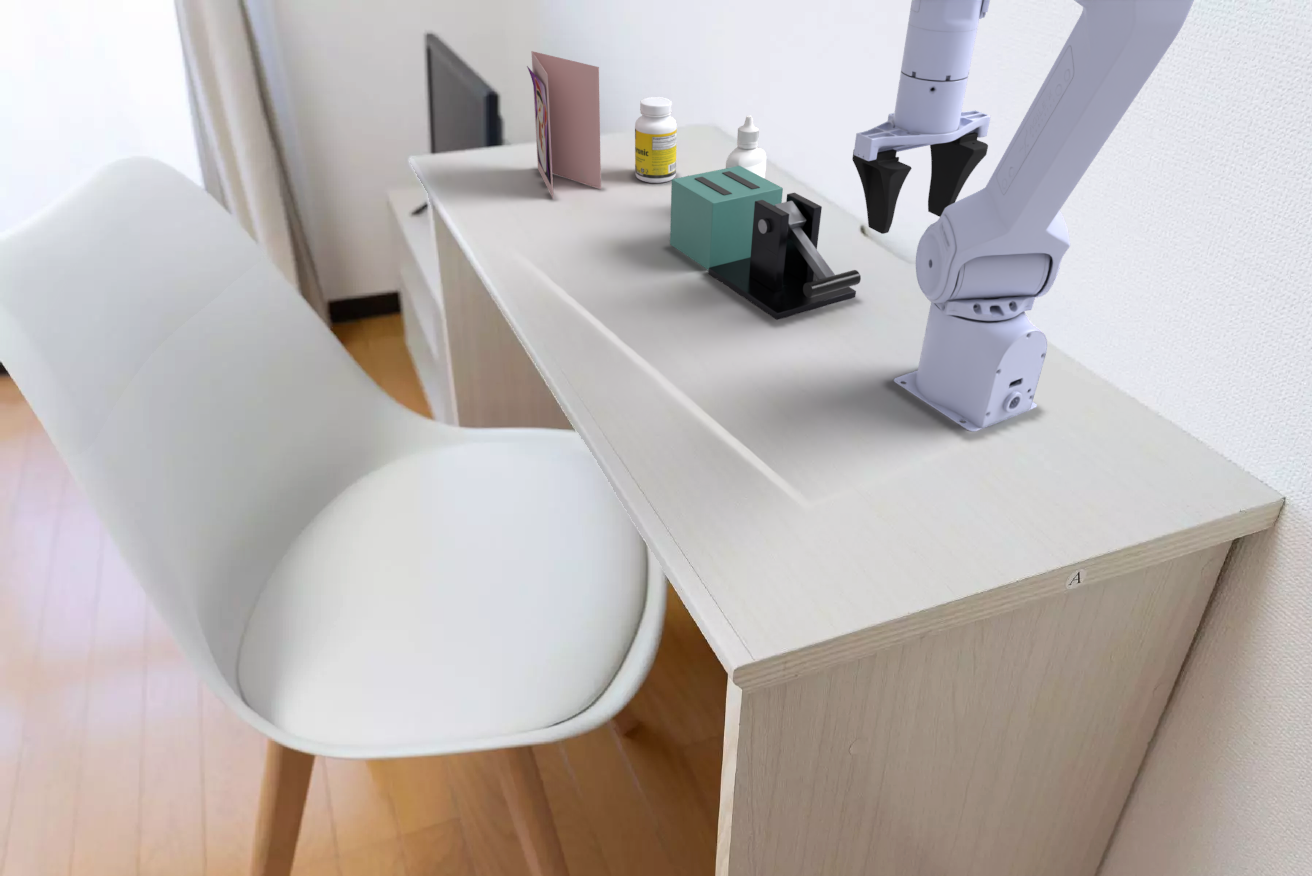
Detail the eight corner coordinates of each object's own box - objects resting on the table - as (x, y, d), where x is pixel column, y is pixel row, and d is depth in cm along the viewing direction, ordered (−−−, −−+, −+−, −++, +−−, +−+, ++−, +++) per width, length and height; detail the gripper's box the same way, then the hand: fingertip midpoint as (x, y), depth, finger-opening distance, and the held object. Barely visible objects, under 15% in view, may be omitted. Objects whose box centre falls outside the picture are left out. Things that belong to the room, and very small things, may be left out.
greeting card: (531, 169, 129) (524, 51, 120) (585, 164, 131) (582, 48, 122) (546, 199, 120) (539, 75, 111) (604, 194, 122) (602, 71, 113)
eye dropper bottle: (771, 221, 115) (780, 119, 109) (728, 226, 114) (734, 124, 107) (756, 208, 119) (763, 109, 112) (713, 213, 117) (719, 113, 110)
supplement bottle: (629, 171, 129) (629, 96, 123) (668, 168, 130) (670, 93, 125) (641, 185, 125) (642, 108, 119) (681, 181, 126) (683, 105, 120)
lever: (854, 290, 95) (864, 274, 93) (806, 304, 92) (816, 287, 90) (798, 214, 99) (807, 196, 97) (751, 225, 96) (758, 207, 94)
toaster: (776, 257, 107) (783, 186, 102) (709, 275, 103) (712, 202, 98) (735, 232, 112) (739, 164, 108) (669, 248, 108) (671, 178, 104)
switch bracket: (854, 301, 98) (867, 214, 93) (776, 324, 94) (784, 234, 89) (783, 258, 107) (791, 176, 101) (707, 277, 102) (712, 193, 97)
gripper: (960, 53, 90) (934, 194, 97) (839, 72, 83) (821, 221, 91) (1019, 71, 85) (987, 218, 92) (896, 92, 78) (872, 248, 86)
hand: (908, 222), depth 91 cm, fingers open, 7 cm apart
